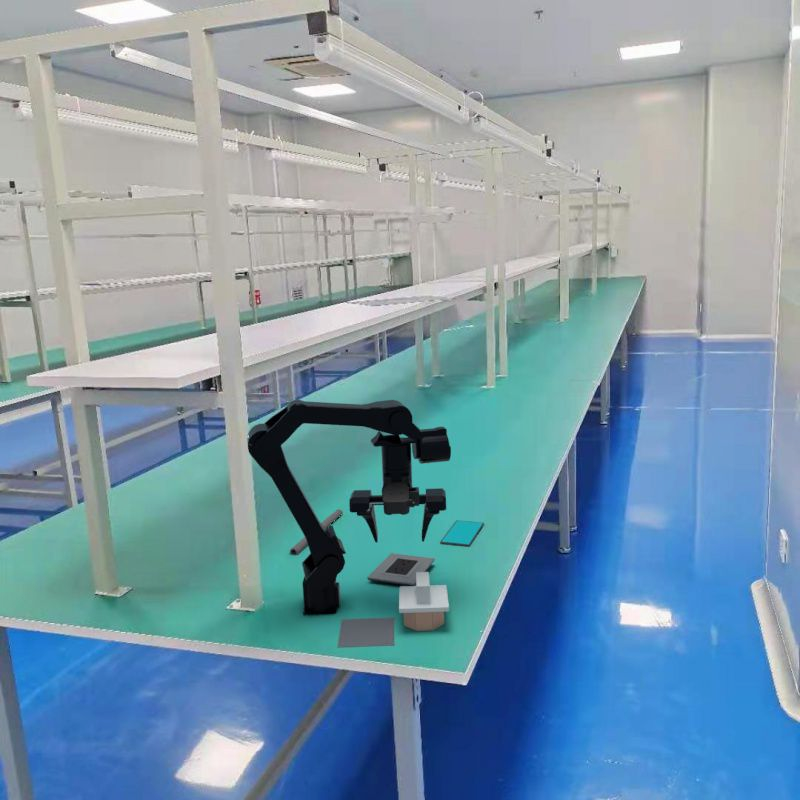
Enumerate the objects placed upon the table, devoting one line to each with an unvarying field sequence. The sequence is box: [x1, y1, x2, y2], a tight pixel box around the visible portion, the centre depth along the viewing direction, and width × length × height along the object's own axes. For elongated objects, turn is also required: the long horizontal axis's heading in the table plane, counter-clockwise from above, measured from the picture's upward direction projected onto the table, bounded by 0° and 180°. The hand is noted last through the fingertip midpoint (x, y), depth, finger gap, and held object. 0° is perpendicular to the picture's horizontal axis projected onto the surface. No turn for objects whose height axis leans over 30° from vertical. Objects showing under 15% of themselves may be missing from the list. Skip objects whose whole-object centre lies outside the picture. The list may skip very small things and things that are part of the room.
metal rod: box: [289, 508, 344, 556], centre depth 182 cm, size 2×27×2 cm, turn 162°
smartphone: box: [439, 520, 485, 548], centre depth 178 cm, size 7×1×15 cm
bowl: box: [402, 612, 445, 632], centre depth 135 cm, size 8×8×4 cm
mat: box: [336, 617, 396, 649], centre depth 132 cm, size 10×10×1 cm
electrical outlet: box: [366, 552, 436, 586], centre depth 156 cm, size 13×10×2 cm
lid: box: [398, 571, 450, 614], centre depth 134 cm, size 9×9×4 cm
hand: (399, 541), depth 144 cm, fingers open, 9 cm apart
